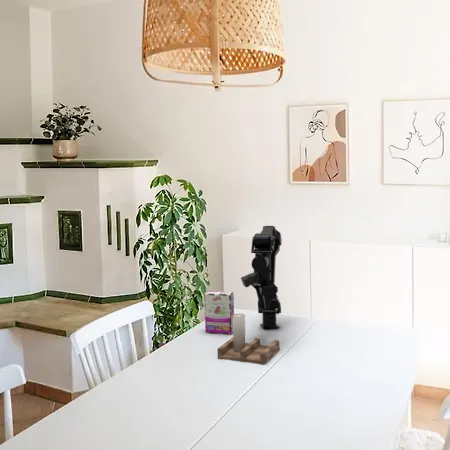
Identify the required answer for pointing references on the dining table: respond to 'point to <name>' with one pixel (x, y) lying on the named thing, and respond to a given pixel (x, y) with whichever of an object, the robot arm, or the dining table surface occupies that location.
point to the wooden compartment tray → (249, 351)
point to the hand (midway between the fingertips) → (263, 306)
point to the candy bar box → (219, 312)
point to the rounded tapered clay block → (238, 332)
